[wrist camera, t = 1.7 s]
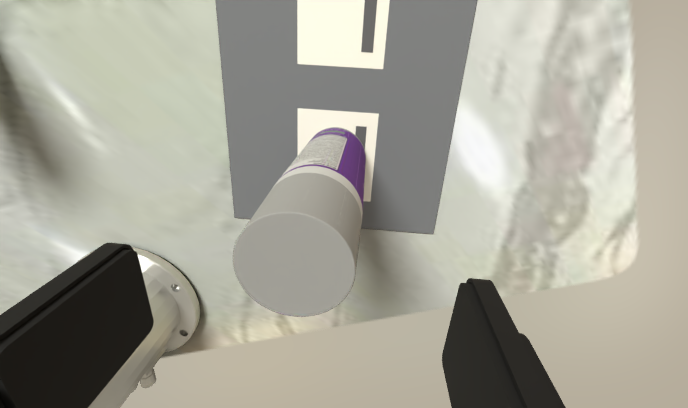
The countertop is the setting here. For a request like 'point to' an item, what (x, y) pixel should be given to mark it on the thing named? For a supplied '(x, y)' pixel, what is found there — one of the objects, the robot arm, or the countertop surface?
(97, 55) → the countertop surface
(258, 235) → the container
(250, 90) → the label mat
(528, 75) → the countertop surface
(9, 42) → the countertop surface
